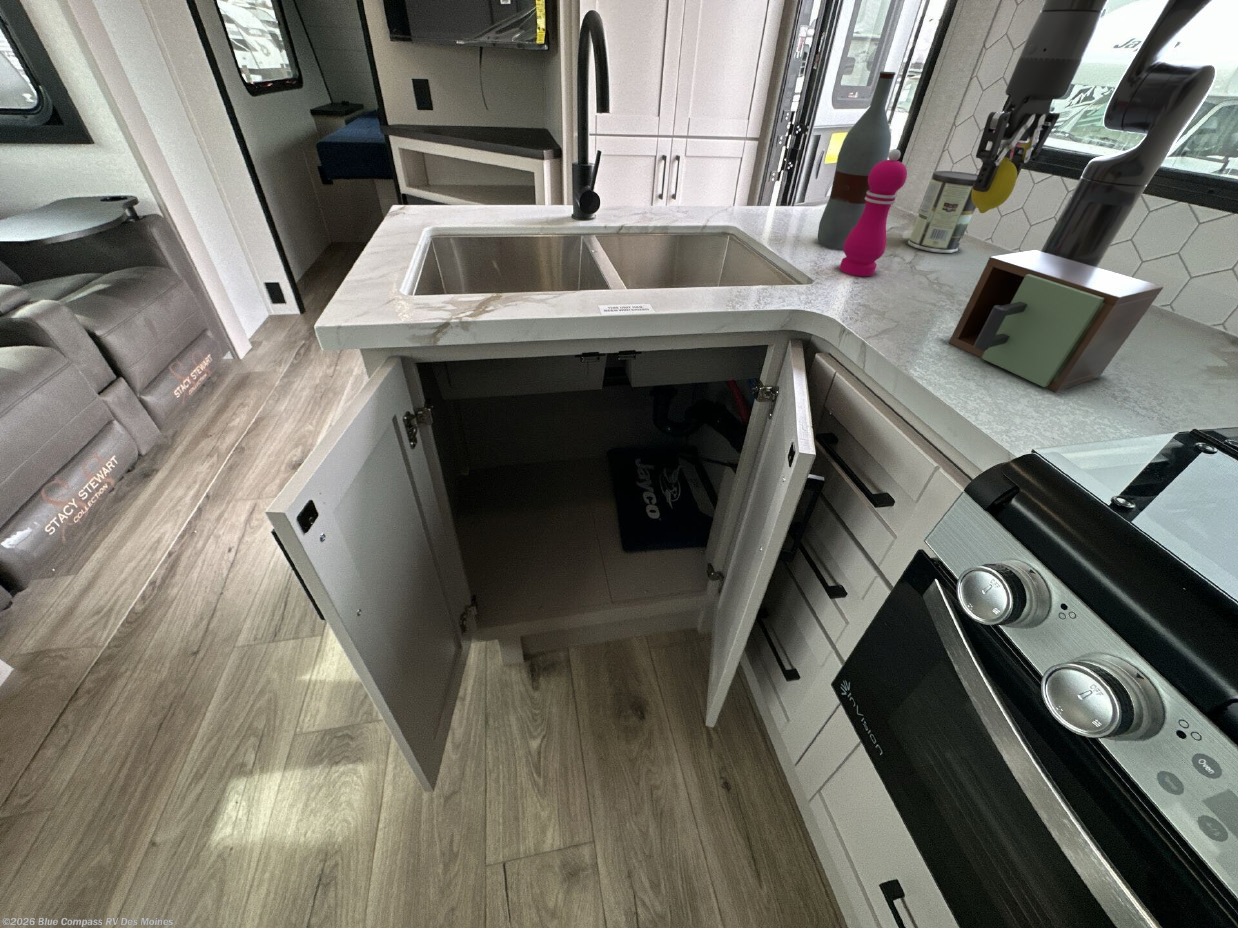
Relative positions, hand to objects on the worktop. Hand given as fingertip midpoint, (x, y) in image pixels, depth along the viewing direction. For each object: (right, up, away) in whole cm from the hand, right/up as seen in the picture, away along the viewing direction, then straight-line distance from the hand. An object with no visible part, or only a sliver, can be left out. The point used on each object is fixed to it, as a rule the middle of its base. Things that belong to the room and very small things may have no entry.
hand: (992, 189), depth 82 cm
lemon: (0, -3, +2) cm, 4 cm away
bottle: (-13, +4, +30) cm, 32 cm away
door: (-11, -33, -17) cm, 39 cm away
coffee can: (+10, +4, +32) cm, 34 cm away
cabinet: (-5, -30, -12) cm, 32 cm away
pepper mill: (-15, -8, +16) cm, 23 cm away
